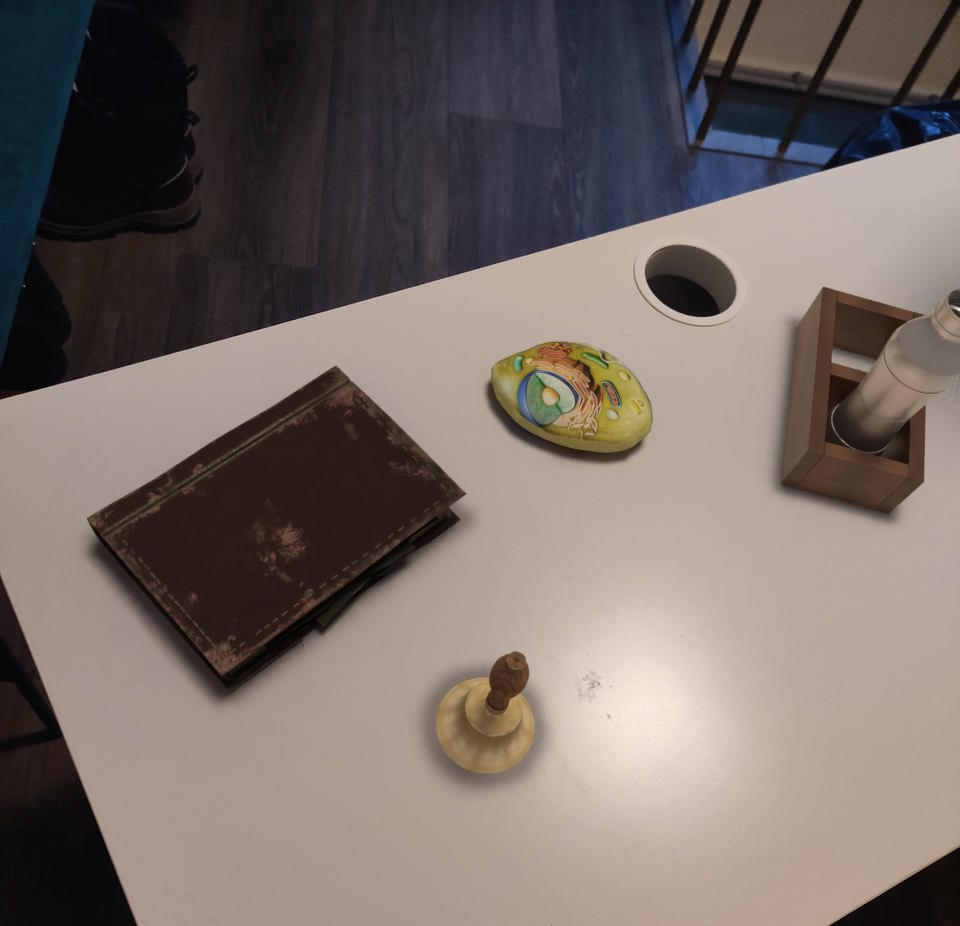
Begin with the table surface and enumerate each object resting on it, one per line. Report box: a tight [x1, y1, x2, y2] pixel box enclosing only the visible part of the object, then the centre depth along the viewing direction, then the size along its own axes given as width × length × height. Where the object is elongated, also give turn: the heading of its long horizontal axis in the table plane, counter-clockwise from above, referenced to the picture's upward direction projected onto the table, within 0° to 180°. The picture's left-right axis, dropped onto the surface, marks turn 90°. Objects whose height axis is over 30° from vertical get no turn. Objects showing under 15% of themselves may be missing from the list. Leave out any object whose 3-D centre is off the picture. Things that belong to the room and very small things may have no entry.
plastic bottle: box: [825, 288, 960, 457], centre depth 75 cm, size 6×7×20 cm
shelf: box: [780, 286, 927, 514], centre depth 83 cm, size 11×20×6 cm, turn 167°
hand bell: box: [435, 650, 535, 774], centre depth 61 cm, size 8×8×16 cm
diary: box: [86, 365, 467, 691], centre depth 71 cm, size 19×25×5 cm
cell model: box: [490, 340, 654, 454], centre depth 79 cm, size 11×8×15 cm
